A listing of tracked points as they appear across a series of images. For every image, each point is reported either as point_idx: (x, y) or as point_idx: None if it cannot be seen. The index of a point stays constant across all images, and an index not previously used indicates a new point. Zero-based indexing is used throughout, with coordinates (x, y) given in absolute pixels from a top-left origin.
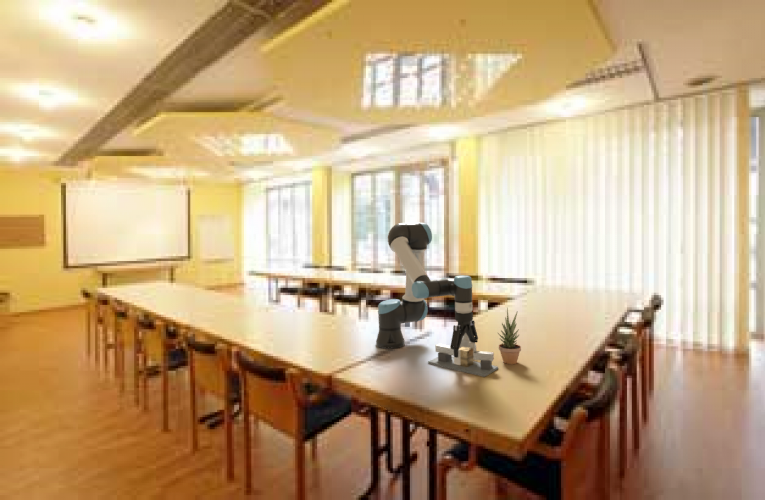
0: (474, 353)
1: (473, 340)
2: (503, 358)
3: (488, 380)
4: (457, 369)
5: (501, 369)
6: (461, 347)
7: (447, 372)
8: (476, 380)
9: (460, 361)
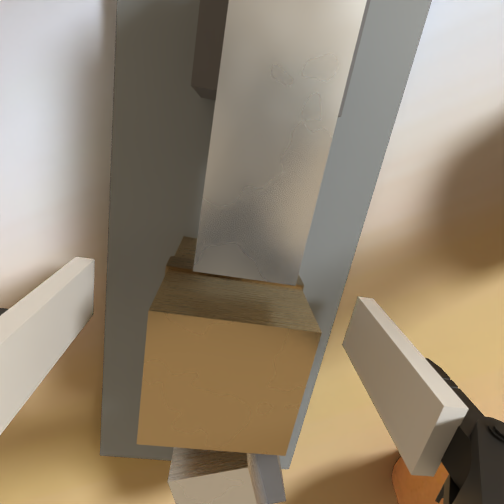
0: (170, 483)
1: (448, 499)
2: (417, 479)
3: (68, 470)
4: (111, 262)
5: (284, 469)
6: (267, 330)
7: (23, 203)
8: (20, 424)
9: (79, 331)
